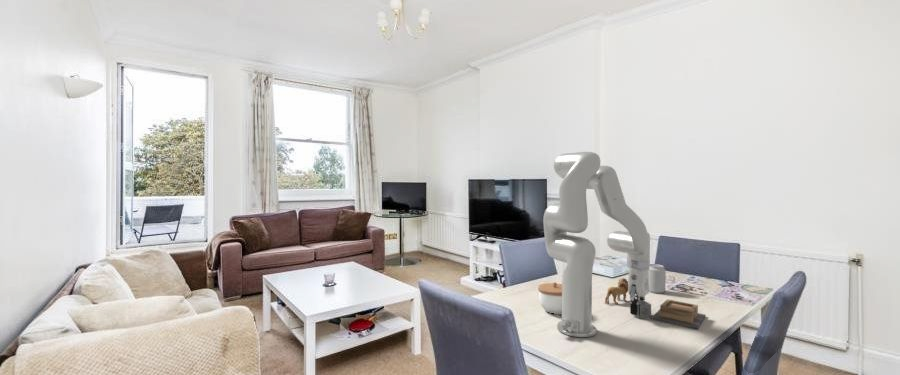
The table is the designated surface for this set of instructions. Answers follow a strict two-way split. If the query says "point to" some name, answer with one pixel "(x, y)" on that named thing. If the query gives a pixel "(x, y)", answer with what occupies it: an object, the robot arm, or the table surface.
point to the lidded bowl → (551, 297)
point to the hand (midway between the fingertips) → (637, 311)
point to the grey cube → (643, 310)
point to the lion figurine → (618, 291)
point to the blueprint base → (681, 323)
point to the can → (657, 278)
